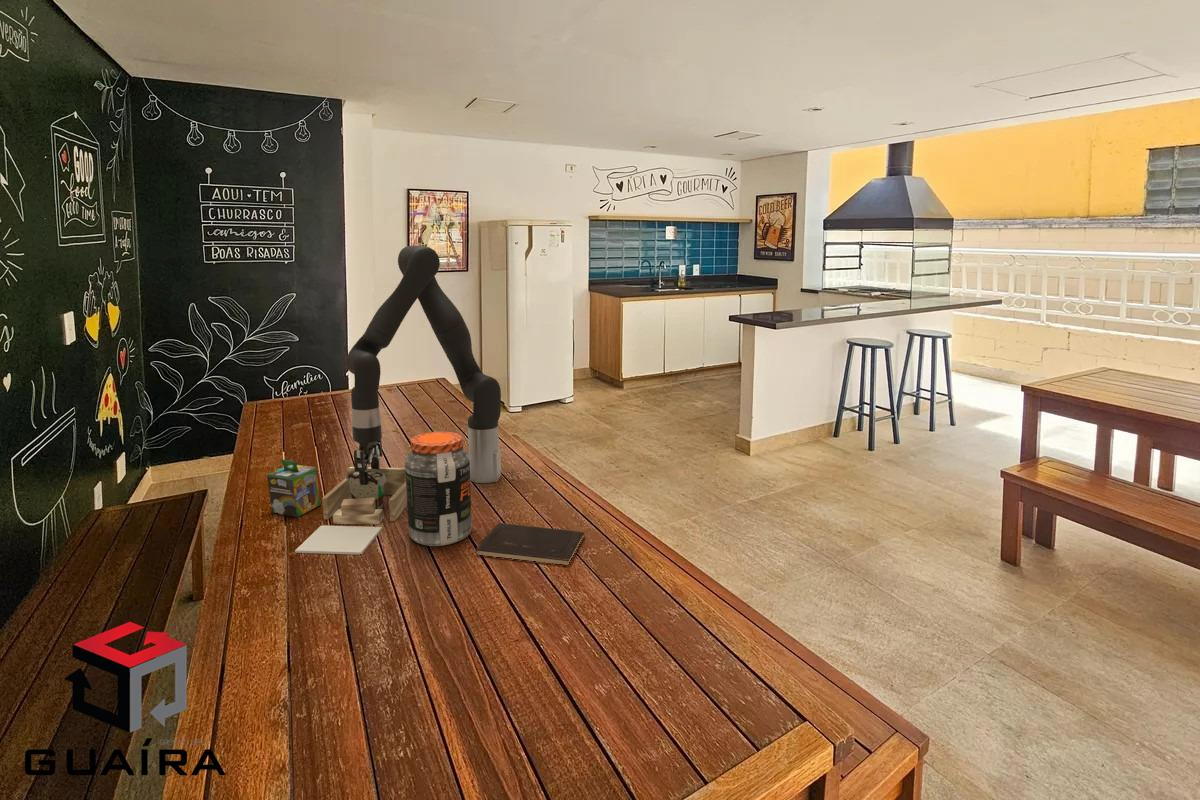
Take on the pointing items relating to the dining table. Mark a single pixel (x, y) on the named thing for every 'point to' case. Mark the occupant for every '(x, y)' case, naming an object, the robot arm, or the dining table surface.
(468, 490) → the supplement tub
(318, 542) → the mat
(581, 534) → the hardcover book
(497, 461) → the robot arm
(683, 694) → the dining table surface
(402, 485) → the frame
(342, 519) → the offcut lower
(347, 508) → the offcut upper
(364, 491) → the food container
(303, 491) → the chalk box
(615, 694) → the dining table surface
